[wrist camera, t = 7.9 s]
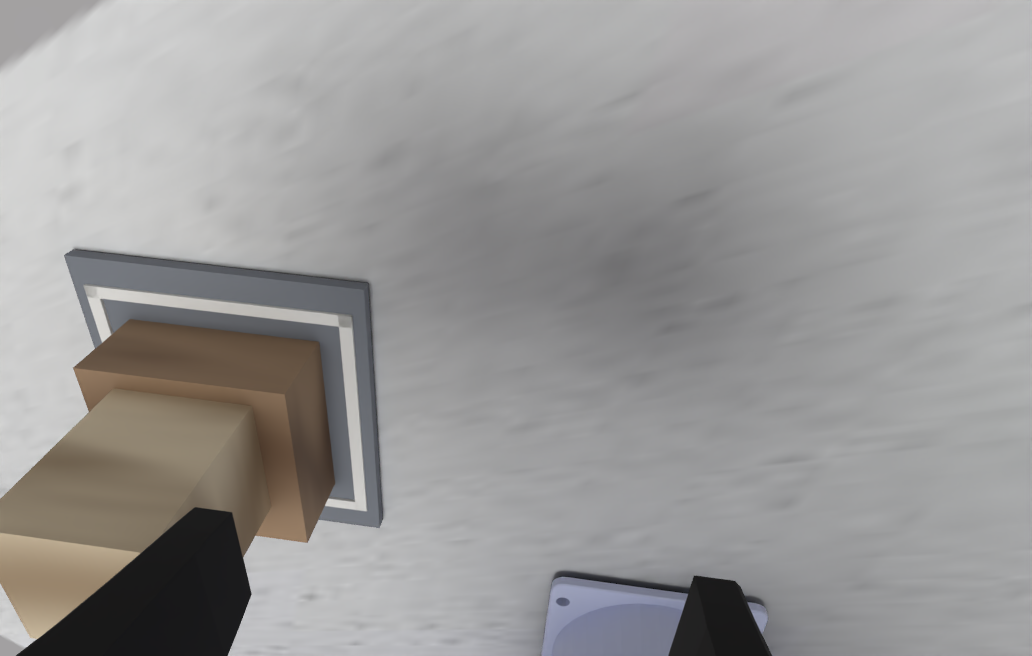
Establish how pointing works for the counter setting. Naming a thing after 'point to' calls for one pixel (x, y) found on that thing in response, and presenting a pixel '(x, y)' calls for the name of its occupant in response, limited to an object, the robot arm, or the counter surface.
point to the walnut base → (235, 401)
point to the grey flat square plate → (264, 311)
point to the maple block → (123, 495)
